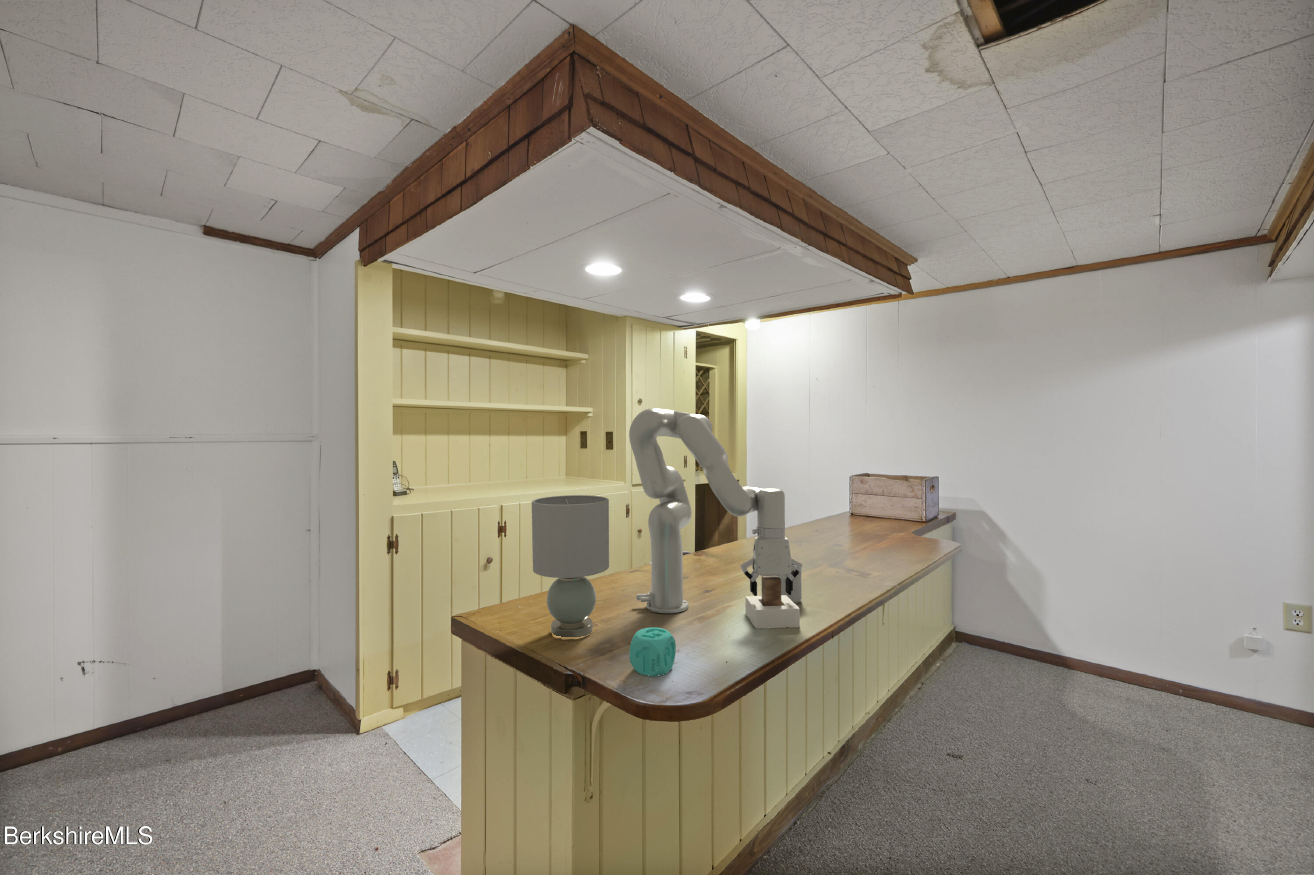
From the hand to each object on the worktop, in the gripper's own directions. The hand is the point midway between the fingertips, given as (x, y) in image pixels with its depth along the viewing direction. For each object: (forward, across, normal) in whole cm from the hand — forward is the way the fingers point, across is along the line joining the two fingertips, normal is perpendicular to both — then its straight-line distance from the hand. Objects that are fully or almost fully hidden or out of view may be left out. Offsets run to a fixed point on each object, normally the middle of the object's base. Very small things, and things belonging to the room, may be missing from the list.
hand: (771, 594), depth 154 cm
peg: (+7, 0, 0) cm, 7 cm away
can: (+7, +10, +16) cm, 20 cm away
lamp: (+7, -55, -4) cm, 56 cm away
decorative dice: (+8, -35, -28) cm, 45 cm away
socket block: (+7, 0, 0) cm, 7 cm away
